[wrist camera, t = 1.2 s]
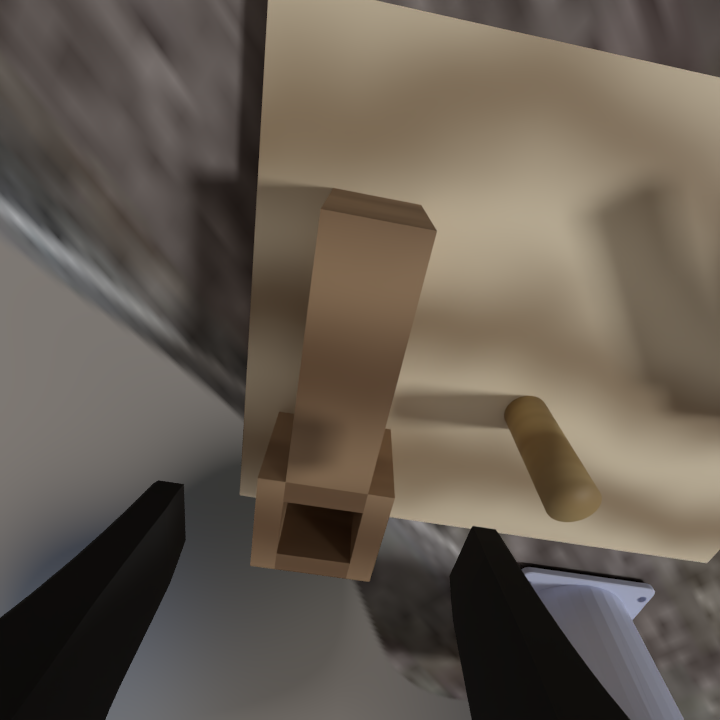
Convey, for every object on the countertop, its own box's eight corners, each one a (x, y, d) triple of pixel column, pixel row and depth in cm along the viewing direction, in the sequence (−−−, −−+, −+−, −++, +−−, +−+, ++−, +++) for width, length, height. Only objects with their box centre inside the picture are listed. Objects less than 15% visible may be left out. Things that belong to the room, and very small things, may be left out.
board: (697, 549, 24) (786, 667, 18) (244, 483, 22) (205, 591, 17) (1039, 155, 14) (1422, 174, 9) (275, -16, 12) (206, -113, 7)
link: (369, 507, 21) (369, 581, 18) (270, 492, 21) (250, 565, 18) (450, 210, 14) (475, 238, 11) (303, 182, 14) (280, 201, 11)
